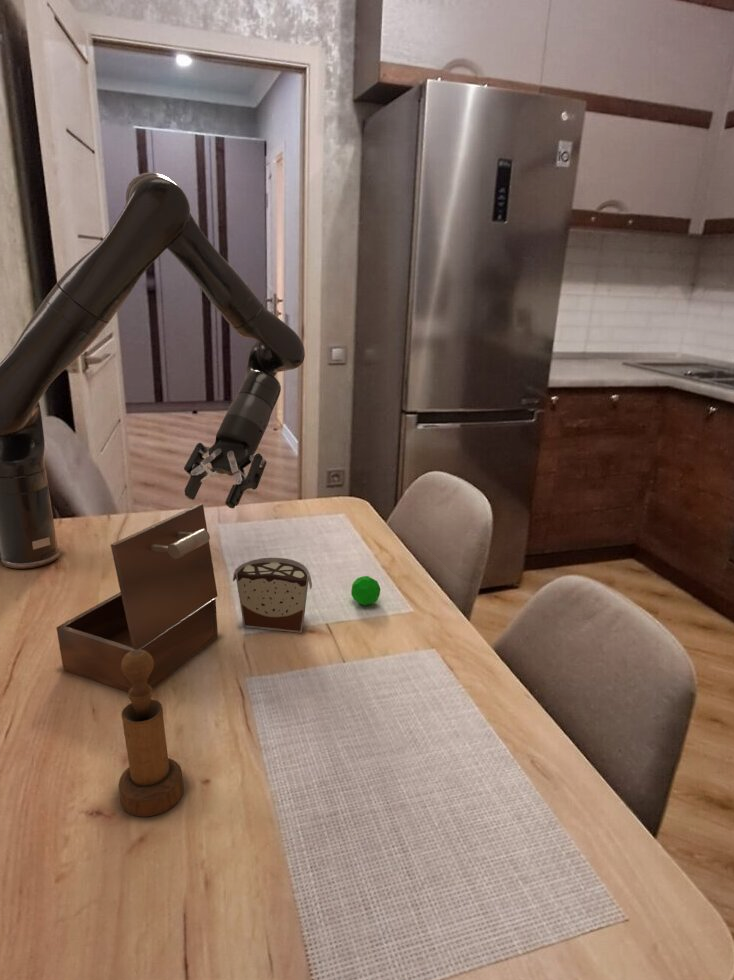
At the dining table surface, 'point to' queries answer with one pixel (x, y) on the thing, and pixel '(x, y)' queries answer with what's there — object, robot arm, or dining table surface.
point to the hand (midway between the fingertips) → (208, 501)
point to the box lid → (164, 573)
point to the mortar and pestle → (146, 746)
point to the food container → (273, 593)
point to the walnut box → (106, 640)
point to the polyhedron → (365, 590)
